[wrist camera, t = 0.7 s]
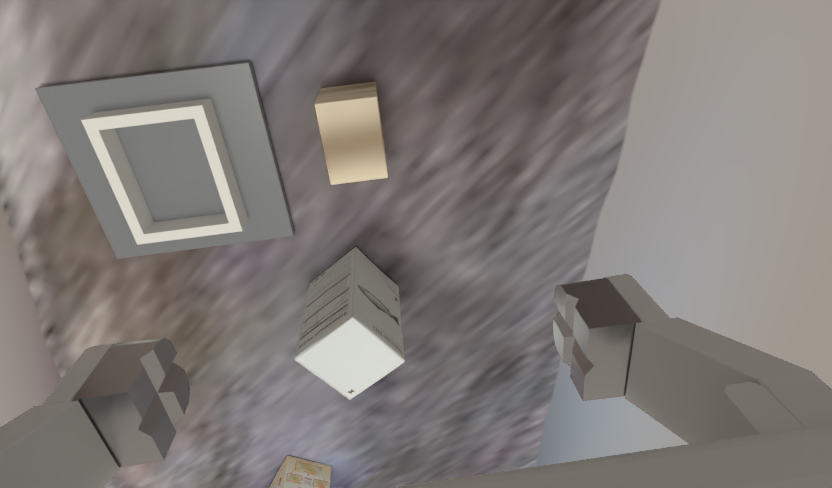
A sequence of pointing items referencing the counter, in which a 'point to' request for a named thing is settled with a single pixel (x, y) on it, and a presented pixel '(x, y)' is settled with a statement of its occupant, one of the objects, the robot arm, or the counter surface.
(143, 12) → the counter surface
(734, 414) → the robot arm
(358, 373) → the supplement box
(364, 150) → the tan cardboard carton
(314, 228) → the counter surface
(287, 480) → the coffeecake box
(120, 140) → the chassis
